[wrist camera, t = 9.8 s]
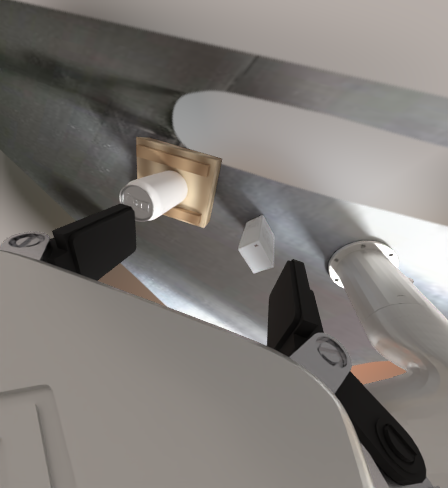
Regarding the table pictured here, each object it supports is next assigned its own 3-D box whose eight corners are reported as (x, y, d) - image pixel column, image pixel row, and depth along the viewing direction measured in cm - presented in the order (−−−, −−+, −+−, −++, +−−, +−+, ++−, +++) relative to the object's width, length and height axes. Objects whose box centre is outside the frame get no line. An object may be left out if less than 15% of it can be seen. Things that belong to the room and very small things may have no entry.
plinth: (222, 158, 36) (214, 161, 32) (209, 221, 44) (201, 230, 39) (148, 137, 38) (131, 137, 33) (148, 201, 45) (133, 208, 40)
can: (161, 164, 36) (116, 174, 25) (191, 177, 35) (158, 191, 25) (157, 195, 39) (116, 215, 29) (185, 207, 39) (153, 230, 29)
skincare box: (245, 222, 42) (236, 248, 31) (263, 213, 40) (259, 238, 30) (258, 243, 43) (253, 274, 33) (275, 236, 42) (275, 267, 31)
